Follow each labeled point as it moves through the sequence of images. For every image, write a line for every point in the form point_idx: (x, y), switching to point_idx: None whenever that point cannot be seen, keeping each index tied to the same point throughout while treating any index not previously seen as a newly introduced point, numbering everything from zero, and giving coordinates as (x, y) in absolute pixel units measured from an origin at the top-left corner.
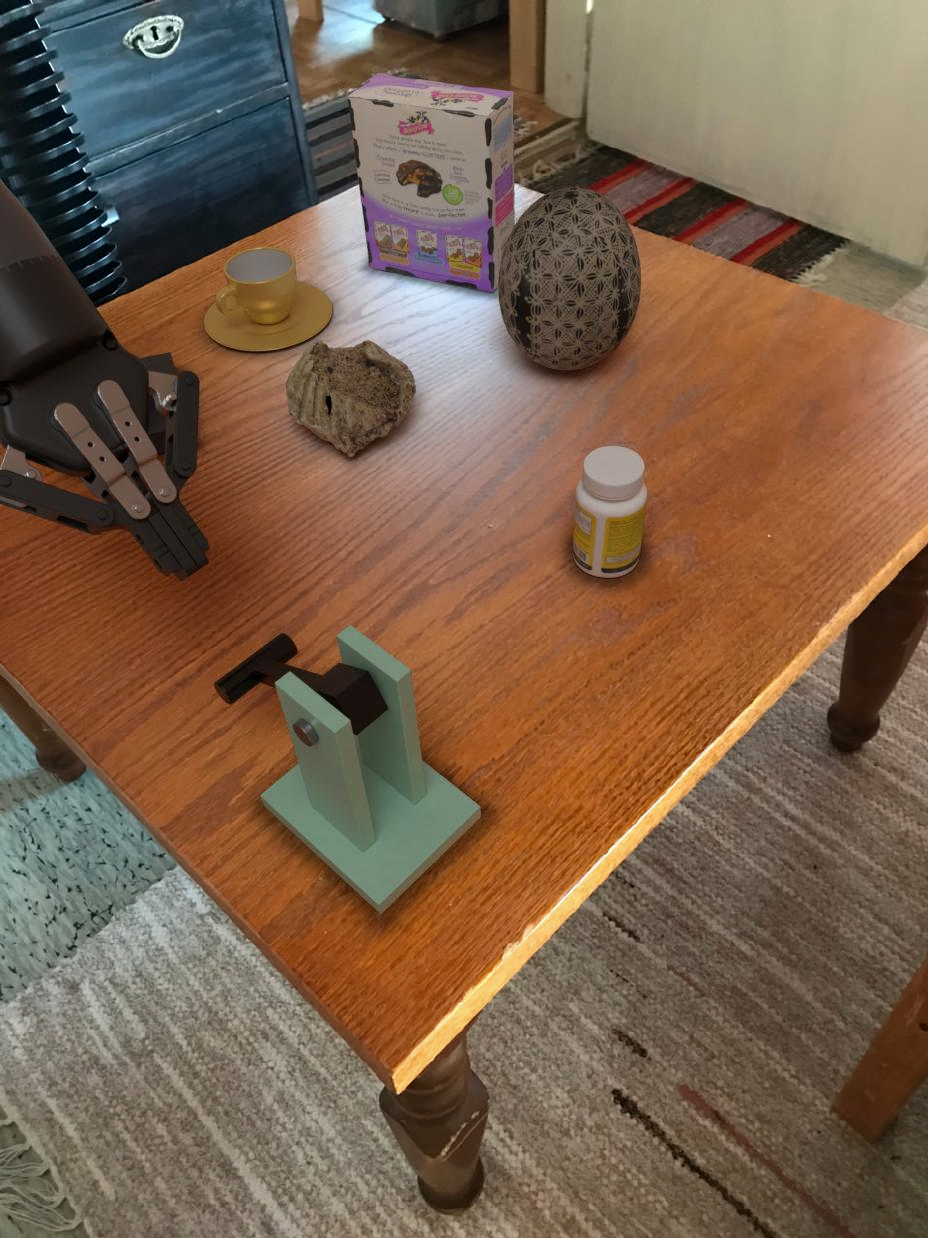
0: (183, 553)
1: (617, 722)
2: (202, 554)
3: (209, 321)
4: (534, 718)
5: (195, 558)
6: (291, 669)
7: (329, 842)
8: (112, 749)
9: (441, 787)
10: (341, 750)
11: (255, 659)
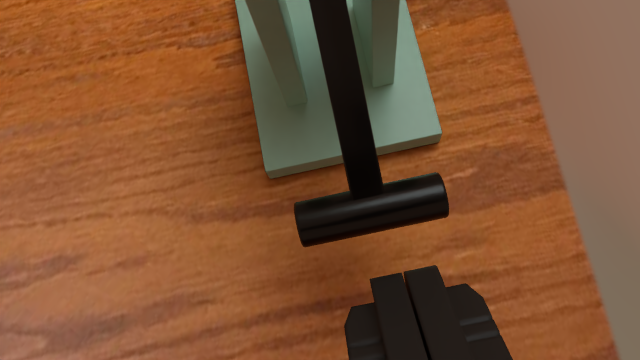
0: (424, 298)
1: (41, 13)
2: (377, 287)
3: None
4: (104, 66)
5: (400, 280)
6: (337, 89)
7: (398, 31)
8: (593, 353)
9: (251, 24)
10: None
11: (367, 203)
